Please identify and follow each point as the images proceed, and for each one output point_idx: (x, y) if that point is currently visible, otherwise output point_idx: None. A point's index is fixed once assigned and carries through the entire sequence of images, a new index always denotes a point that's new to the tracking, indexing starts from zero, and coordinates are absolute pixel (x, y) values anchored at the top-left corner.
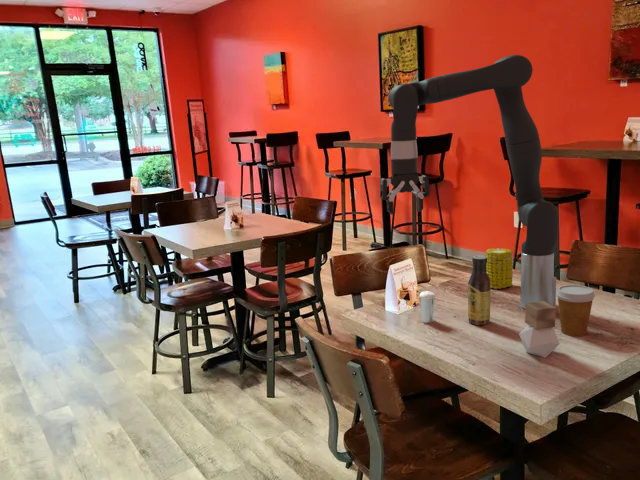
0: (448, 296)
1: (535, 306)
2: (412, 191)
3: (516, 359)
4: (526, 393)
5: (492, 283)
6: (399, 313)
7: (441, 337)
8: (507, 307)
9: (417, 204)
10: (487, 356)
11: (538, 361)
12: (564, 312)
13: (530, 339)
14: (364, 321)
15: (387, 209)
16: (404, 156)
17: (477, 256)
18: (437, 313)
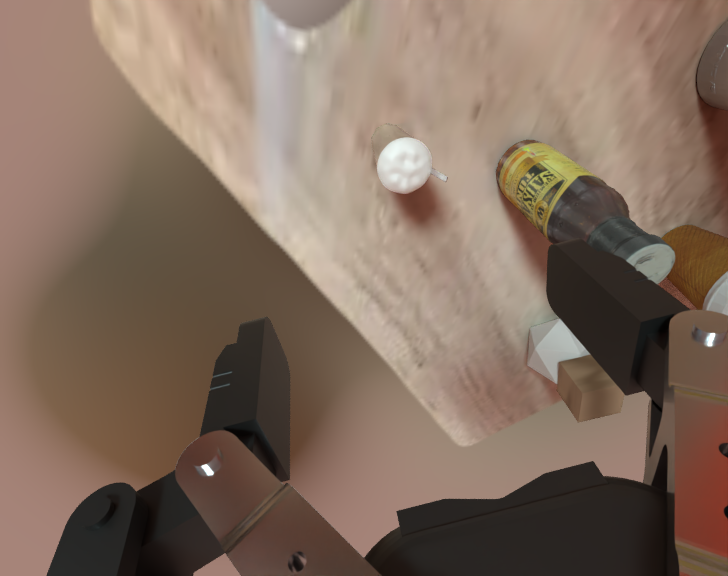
0: None
1: (589, 408)
2: (671, 407)
3: (497, 351)
4: (458, 433)
5: None
6: (305, 46)
7: (396, 254)
8: (664, 47)
9: (588, 305)
10: (455, 340)
11: (527, 358)
12: (683, 290)
13: (538, 372)
14: (181, 113)
15: (220, 376)
16: None
17: (643, 263)
18: (434, 70)
